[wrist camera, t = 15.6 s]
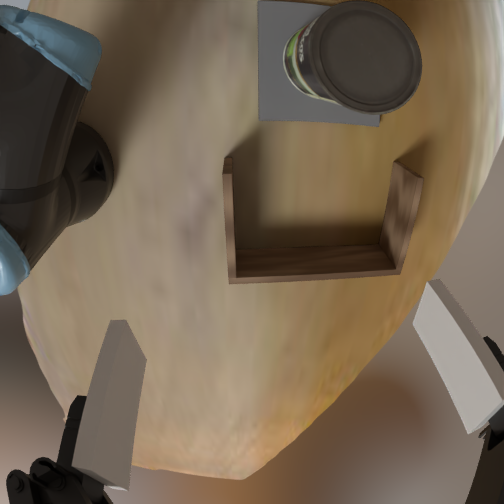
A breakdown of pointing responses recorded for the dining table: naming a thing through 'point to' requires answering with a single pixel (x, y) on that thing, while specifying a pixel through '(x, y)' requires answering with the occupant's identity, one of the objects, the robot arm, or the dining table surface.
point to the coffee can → (355, 58)
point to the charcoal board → (274, 76)
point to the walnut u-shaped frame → (329, 257)
